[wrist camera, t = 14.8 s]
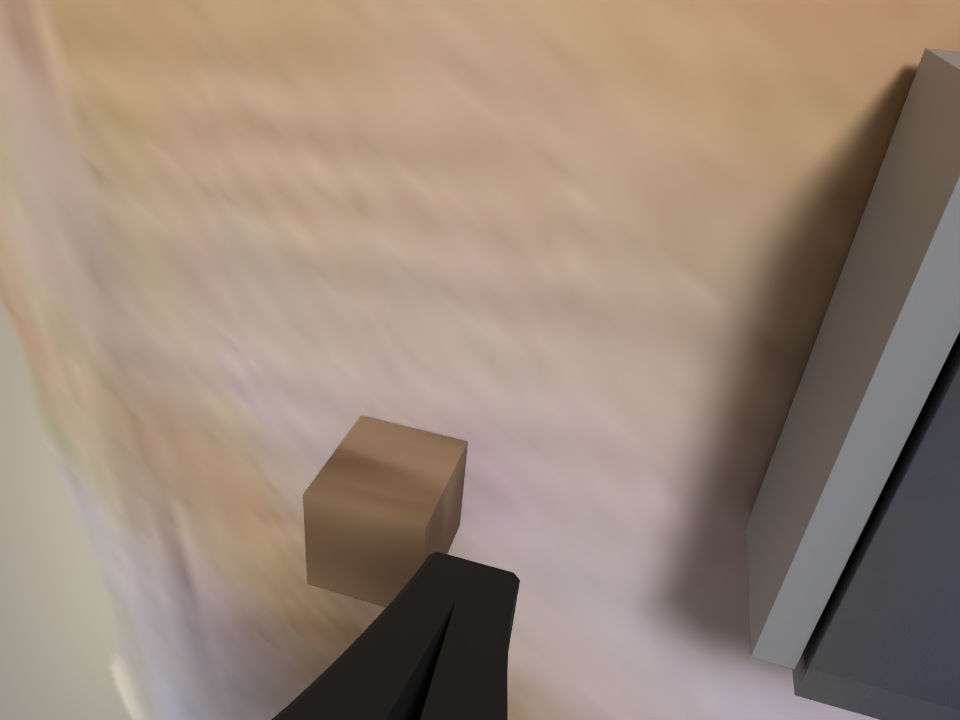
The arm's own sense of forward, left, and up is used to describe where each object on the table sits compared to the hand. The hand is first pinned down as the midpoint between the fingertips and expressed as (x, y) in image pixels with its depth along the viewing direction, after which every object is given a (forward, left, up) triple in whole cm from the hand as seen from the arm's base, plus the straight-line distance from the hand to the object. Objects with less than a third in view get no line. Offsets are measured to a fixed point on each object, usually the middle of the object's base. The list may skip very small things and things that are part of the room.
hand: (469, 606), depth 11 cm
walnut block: (-7, +4, -10) cm, 13 cm away
